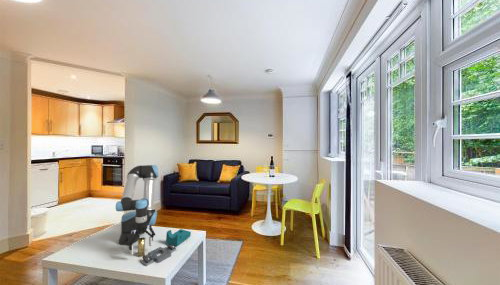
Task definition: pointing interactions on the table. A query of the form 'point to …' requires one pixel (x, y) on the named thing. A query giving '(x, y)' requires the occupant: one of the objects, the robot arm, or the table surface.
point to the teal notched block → (177, 237)
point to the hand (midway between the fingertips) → (141, 249)
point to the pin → (141, 247)
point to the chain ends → (153, 254)
